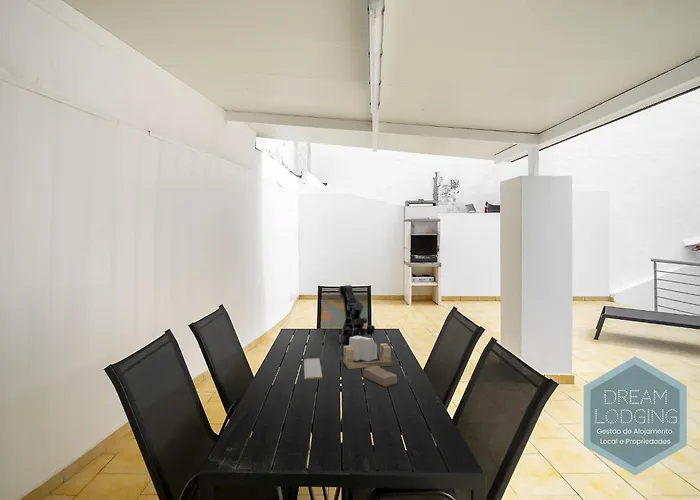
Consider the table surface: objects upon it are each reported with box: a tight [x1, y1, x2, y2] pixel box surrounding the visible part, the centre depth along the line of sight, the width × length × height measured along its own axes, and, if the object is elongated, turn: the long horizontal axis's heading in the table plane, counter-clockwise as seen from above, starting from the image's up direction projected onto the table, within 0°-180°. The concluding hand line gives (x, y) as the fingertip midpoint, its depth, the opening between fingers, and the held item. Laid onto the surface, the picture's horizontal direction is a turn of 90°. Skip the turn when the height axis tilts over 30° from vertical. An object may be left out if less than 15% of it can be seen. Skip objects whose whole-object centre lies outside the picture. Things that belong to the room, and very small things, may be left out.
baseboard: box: [302, 355, 323, 380], centre depth 221 cm, size 30×3×10 cm
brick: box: [363, 366, 398, 387], centre depth 205 cm, size 17×8×5 cm, turn 35°
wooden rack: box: [343, 343, 394, 370], centre depth 229 cm, size 12×24×9 cm, turn 103°
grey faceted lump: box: [348, 336, 378, 362], centre depth 239 cm, size 11×11×12 cm
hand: (360, 343), depth 244 cm, fingers closed, pressing on grey faceted lump
